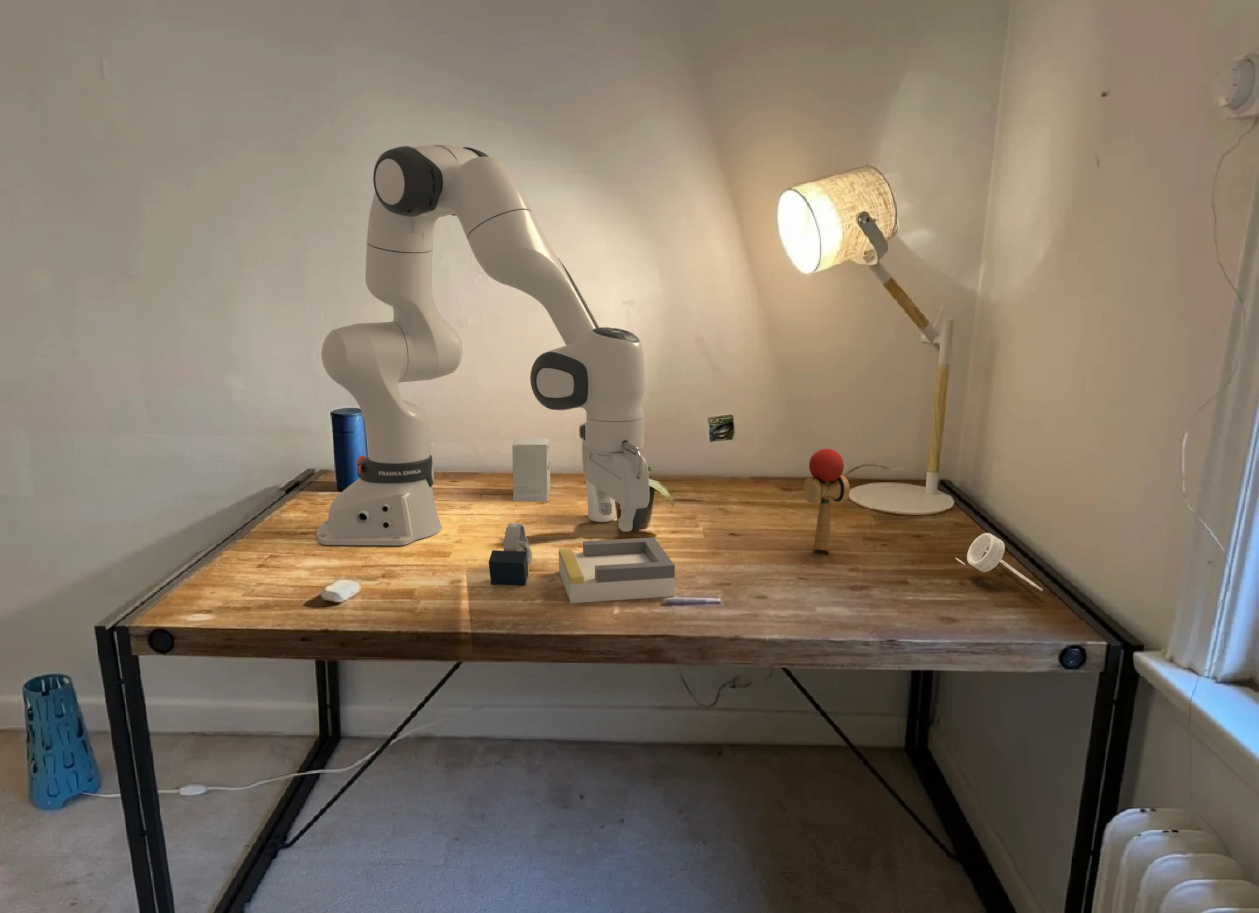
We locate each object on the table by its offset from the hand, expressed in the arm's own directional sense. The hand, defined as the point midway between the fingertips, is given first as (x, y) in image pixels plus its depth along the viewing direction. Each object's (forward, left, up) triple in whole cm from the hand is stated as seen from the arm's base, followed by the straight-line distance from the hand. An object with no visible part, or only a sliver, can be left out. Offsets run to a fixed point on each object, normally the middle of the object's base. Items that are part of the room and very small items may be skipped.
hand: (614, 521), depth 143 cm
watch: (-17, +2, -8) cm, 19 cm away
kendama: (+40, +11, -10) cm, 43 cm away
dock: (0, 0, -10) cm, 10 cm away
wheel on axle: (+61, -6, -11) cm, 62 cm away
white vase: (+4, +35, -10) cm, 37 cm away
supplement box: (-8, +52, -10) cm, 54 cm away
